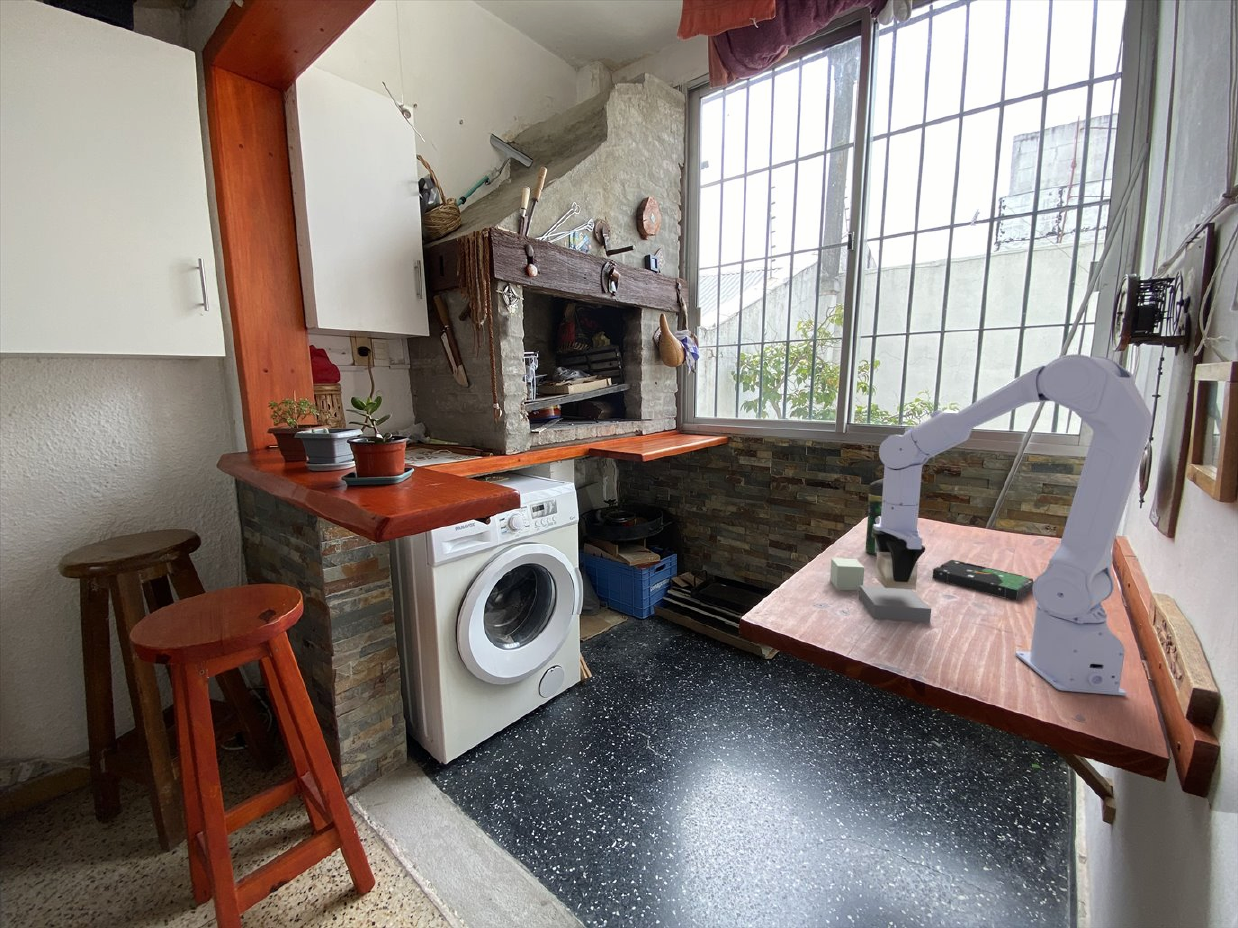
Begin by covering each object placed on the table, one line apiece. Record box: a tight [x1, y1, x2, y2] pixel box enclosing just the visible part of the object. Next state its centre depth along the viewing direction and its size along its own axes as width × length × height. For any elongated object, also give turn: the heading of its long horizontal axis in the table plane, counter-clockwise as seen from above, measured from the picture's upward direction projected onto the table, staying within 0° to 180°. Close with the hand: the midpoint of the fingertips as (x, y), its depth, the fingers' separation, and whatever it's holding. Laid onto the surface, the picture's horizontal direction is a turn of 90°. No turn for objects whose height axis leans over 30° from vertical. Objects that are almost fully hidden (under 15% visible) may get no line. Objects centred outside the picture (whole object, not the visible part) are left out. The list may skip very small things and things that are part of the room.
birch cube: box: [875, 552, 919, 591], centre depth 88 cm, size 5×5×5 cm
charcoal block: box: [858, 584, 932, 624], centre depth 89 cm, size 9×9×3 cm
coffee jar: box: [865, 477, 884, 556], centre depth 120 cm, size 10×8×19 cm
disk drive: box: [932, 559, 1035, 602], centre depth 101 cm, size 10×3×15 cm
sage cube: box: [829, 557, 865, 592], centre depth 101 cm, size 5×5×5 cm
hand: (894, 575), depth 89 cm, fingers closed on birch cube, 5 cm apart
